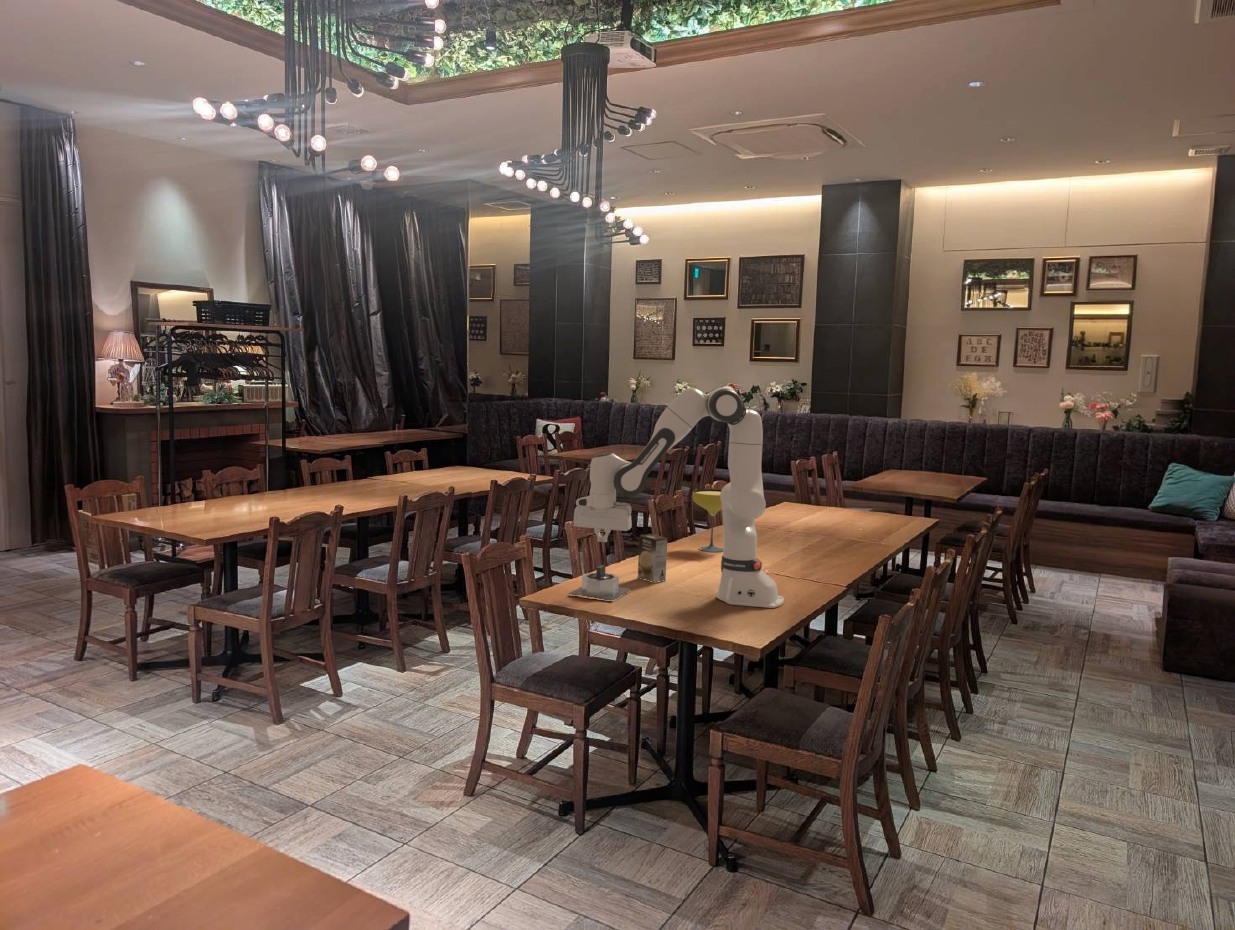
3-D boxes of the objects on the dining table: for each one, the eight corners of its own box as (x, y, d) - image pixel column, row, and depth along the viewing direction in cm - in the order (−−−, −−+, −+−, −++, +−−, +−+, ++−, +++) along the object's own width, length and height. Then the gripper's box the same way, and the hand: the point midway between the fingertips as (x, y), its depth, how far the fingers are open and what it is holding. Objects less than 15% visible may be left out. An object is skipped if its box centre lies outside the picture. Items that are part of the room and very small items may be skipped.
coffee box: (636, 578, 320) (638, 535, 319) (649, 576, 324) (650, 533, 323) (653, 583, 313) (655, 539, 312) (666, 581, 318) (668, 537, 316)
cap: (612, 580, 298) (612, 565, 297) (605, 583, 292) (605, 569, 292) (595, 578, 300) (596, 563, 299) (588, 581, 294) (589, 567, 294)
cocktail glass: (682, 546, 381) (684, 489, 378) (718, 544, 388) (720, 488, 386) (703, 555, 364) (706, 495, 362) (740, 552, 372) (743, 494, 369)
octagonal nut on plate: (630, 591, 301) (631, 574, 300) (612, 602, 286) (612, 584, 285) (588, 585, 307) (589, 569, 306) (568, 596, 292) (568, 578, 292)
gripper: (635, 502, 292) (634, 542, 293) (579, 497, 300) (579, 537, 301) (627, 504, 286) (627, 546, 288) (571, 500, 294) (571, 540, 296)
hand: (602, 541), depth 294 cm, fingers closed
